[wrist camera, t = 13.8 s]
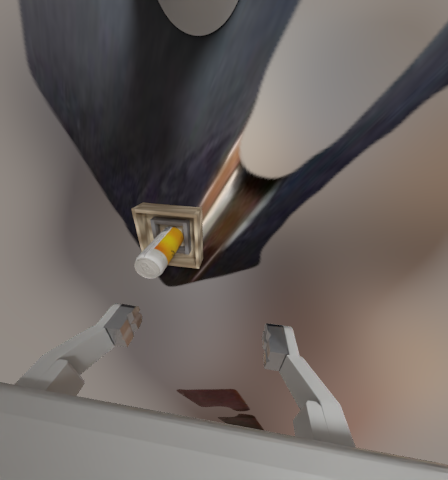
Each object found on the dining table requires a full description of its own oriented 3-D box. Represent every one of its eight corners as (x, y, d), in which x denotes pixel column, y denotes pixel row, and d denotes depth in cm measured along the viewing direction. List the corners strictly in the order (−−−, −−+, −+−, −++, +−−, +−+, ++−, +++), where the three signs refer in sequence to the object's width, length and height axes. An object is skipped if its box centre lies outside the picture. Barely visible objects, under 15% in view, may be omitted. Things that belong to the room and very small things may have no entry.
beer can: (170, 246, 50) (143, 283, 37) (159, 229, 47) (126, 261, 34) (188, 240, 48) (166, 276, 35) (177, 222, 45) (149, 253, 32)
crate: (142, 202, 44) (131, 208, 40) (202, 207, 43) (197, 214, 39) (152, 252, 53) (144, 262, 48) (203, 258, 51) (198, 268, 47)
